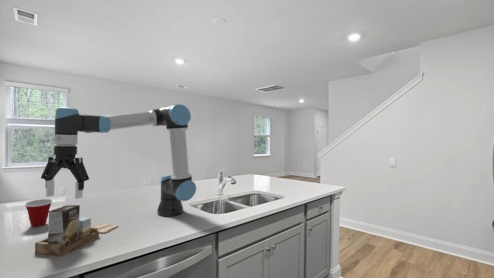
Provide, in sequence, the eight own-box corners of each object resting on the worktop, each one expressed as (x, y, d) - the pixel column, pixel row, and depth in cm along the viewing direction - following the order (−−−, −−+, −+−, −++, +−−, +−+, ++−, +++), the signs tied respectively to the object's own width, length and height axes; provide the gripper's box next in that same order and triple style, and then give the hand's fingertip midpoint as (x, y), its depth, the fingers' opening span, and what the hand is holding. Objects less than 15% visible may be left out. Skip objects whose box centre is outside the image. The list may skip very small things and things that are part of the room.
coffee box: (64, 252, 90) (65, 211, 91) (47, 252, 90) (47, 211, 90) (79, 242, 100) (80, 204, 100) (63, 242, 99) (64, 205, 99)
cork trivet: (118, 226, 118) (118, 225, 118) (104, 233, 109) (104, 232, 109) (100, 225, 119) (100, 224, 119) (86, 232, 110) (86, 230, 110)
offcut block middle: (90, 231, 104) (90, 224, 104) (82, 234, 100) (83, 227, 100) (79, 230, 105) (79, 223, 105) (71, 233, 101) (71, 226, 101)
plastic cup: (19, 230, 111) (20, 205, 111) (28, 223, 121) (29, 200, 121) (48, 226, 116) (49, 203, 116) (54, 220, 126) (55, 198, 126)
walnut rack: (98, 236, 105) (99, 227, 105) (61, 256, 87) (61, 245, 87) (75, 234, 107) (76, 226, 107) (34, 253, 89) (35, 242, 89)
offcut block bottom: (90, 237, 104) (90, 231, 104) (82, 241, 100) (82, 234, 100) (78, 236, 105) (79, 230, 105) (70, 240, 101) (71, 233, 101)
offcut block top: (90, 224, 104) (90, 217, 104) (82, 227, 100) (83, 220, 100) (79, 223, 105) (79, 217, 105) (71, 226, 101) (71, 219, 101)
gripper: (30, 144, 93) (28, 197, 93) (85, 146, 89) (83, 201, 89) (49, 144, 101) (47, 193, 100) (100, 146, 97) (98, 196, 97)
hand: (64, 197), depth 95 cm, fingers open, 13 cm apart
